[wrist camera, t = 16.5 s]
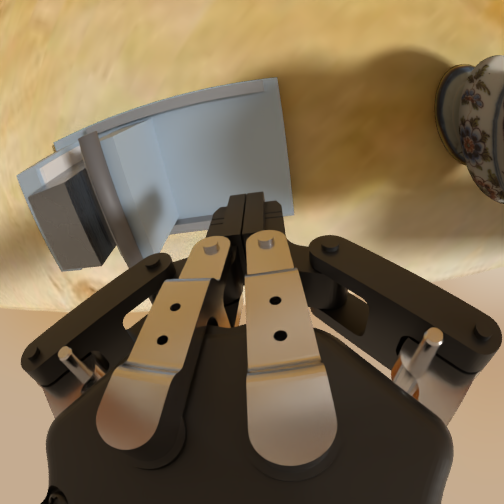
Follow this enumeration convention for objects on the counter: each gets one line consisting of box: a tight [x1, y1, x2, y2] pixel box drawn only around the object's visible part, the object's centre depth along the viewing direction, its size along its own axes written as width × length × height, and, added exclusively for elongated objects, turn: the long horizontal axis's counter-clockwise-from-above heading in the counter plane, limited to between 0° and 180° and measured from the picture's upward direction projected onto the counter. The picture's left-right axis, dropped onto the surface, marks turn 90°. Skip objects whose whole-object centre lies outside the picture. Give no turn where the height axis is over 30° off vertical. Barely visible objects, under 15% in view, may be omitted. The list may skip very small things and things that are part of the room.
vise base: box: [17, 77, 294, 272], centre depth 19 cm, size 20×11×7 cm, turn 99°
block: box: [28, 159, 116, 270], centre depth 18 cm, size 4×6×8 cm, turn 9°
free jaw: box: [78, 118, 179, 269], centre depth 18 cm, size 3×10×7 cm, turn 9°
